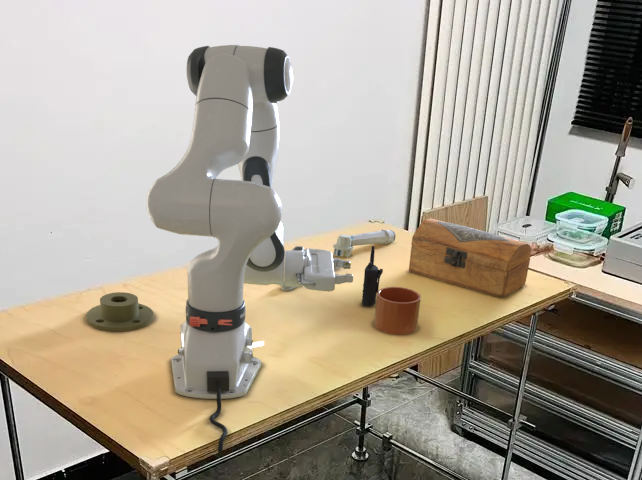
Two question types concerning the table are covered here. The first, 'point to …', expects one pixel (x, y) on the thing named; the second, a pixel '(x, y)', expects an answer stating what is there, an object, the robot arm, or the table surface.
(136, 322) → the flange
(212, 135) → the robot arm
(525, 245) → the wooden box
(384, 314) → the brown round pot
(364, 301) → the two-way radio
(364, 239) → the toothbrush head
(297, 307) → the table surface
